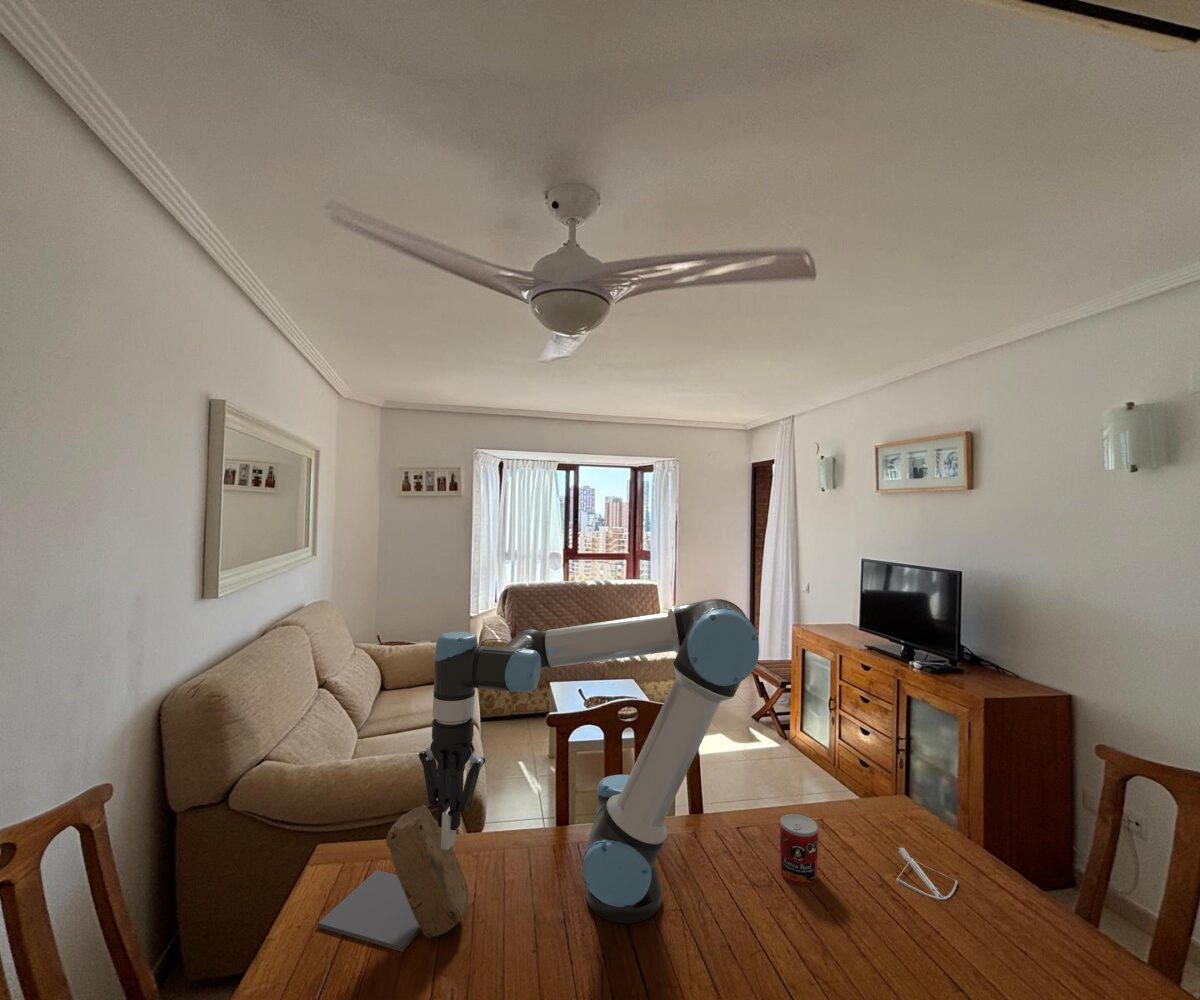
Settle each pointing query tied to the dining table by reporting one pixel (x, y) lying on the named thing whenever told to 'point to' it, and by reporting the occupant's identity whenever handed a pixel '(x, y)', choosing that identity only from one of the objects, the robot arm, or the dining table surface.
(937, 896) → the crossbow
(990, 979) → the dining table surface
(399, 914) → the mat
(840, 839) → the dining table surface
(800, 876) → the canned food
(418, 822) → the block
